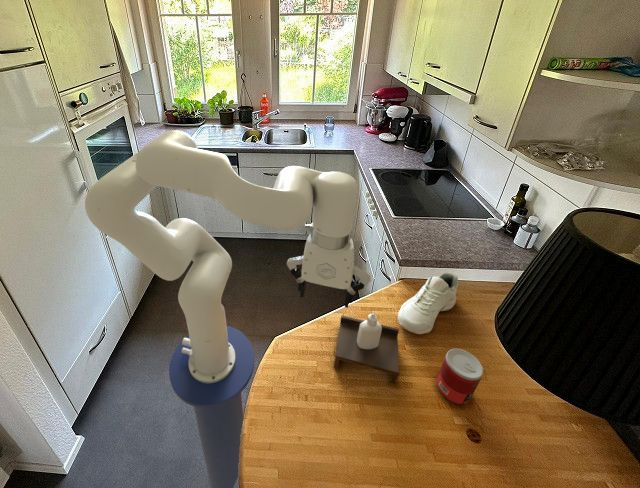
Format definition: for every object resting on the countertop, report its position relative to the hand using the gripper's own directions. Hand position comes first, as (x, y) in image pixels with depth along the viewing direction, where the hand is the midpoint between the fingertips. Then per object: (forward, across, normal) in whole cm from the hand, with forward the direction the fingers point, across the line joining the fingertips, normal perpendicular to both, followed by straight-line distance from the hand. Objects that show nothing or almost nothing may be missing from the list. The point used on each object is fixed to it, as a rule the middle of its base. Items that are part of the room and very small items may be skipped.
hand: (324, 297), depth 71 cm
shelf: (+30, +12, +11) cm, 34 cm away
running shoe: (+31, +29, +32) cm, 53 cm away
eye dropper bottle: (+26, +12, +11) cm, 30 cm away
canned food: (+31, +34, +8) cm, 46 cm away
